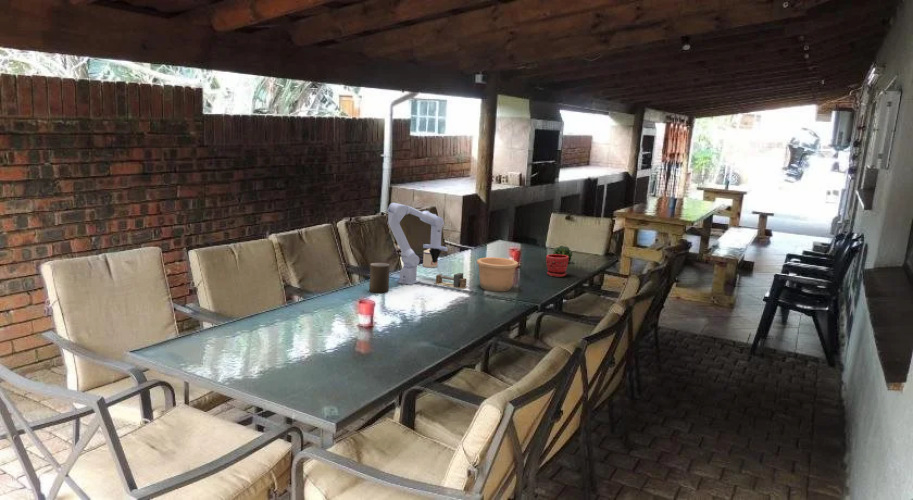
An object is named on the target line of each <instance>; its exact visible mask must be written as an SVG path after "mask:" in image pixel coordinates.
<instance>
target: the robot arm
mask: <svg viewBox="0 0 913 500" xmlns="http://www.w3.org/2000/svg"><path fill="white" fill-rule="evenodd" d="M386 212H387V213H388V215H387V216H388V217H387V218H388V220H387V223H388V226H389V228H390V230H391V232H392V234H393V237H394V239H395V241H396V243H397V245H398V247H399V249H400V251H401V252H400V256H401V258H400V259H401V261H402V263H403V267H402V268H401V269H400V271H399V280H398V282H397V283H399V284H403V285H404V284H405V285H410V286H411V285H413V284H417V283H420V280H418V279H417V271H418V266H419V263H420V257H419V256H418V255H417V254H416V253H415V251H414V249H412V248H411V245H410V244H409V241H408V239H407V237H406V235H405V233H404V231H403V228H402V227H401V224H400V222H401V221H402V219H403V218H404V217H405V216H406V215H409V214H410V215H413V216H415V217H417V218H419V220H420V221H422V222H424V223H426V224H428V225H430V227H431V228H430V244H428V243H425V244H424V243H423V244H422V245H423V246H422V248H423V249H429V248H430V250H429V252H430V254H431V256H432V260H433V263H436V262H437V259H439V256H440V254H441V252H442V251H444V252H448V251H449V248H448V247H446V246H443V245H442V233H443V232H442V229H443V227H444V225H445V221H444V219H443V217H442V216H439V215H437V214H436V213H432V212H430V211H429V210H422V211H420V210H418V209H416V208H415V207H413V206H410V205H407V204H403V203H397V202H391V203H390V204H389V205H388V208H387V210H386Z"/></svg>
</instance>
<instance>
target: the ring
mask: <svg viewBox="0 0 913 500" xmlns="http://www.w3.org/2000/svg"><path fill="white" fill-rule="evenodd" d="M453 277H454V280H453V283H452V284H453V286H455V287H458V286H460V282H459V278H460V279H463V278H464V273H463V272H458V273H455V274H453Z"/></svg>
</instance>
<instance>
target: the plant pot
mask: <svg viewBox="0 0 913 500" xmlns="http://www.w3.org/2000/svg"><path fill="white" fill-rule="evenodd" d="M545 258H546V259H545V263H546V268H547V272H546V274H547V275H549V276H550V277H555V278H557V277H558V278H560V277H565V276H567V274H568V273H567V269H568V265H569V262H568V260H569V257H568V256H566V255H559V254H553V253H550V254H547V255H546V257H545ZM564 264H565V265H564Z"/></svg>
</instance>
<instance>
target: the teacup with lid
mask: <svg viewBox="0 0 913 500" xmlns="http://www.w3.org/2000/svg"><path fill="white" fill-rule="evenodd" d="M429 250H430V248H426V249H425V250H423V259H422V260H423V261H422V265H423V267H424V268H431V269H432V268H437V267H438V263H439V261H438V259H439V258H438V259H437V262H436V263H433V260H432V256H431V254H430V252H429Z"/></svg>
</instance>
